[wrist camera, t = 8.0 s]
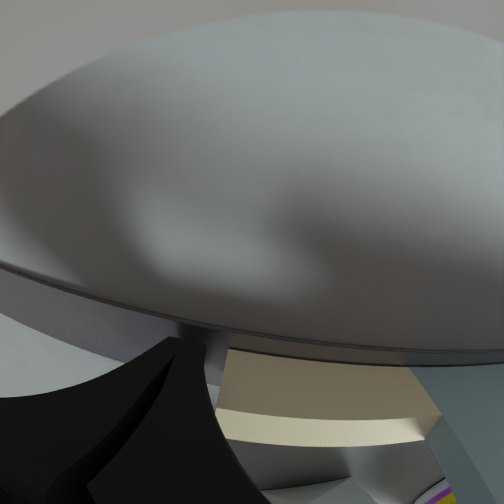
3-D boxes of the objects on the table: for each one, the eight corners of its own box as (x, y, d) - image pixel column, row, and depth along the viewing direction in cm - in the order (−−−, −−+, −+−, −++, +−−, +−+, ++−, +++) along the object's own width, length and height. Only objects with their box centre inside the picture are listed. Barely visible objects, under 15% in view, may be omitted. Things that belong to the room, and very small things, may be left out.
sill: (-51, 279, 10) (-55, 280, 10) (-55, 242, 10) (-59, 243, 9) (560, 371, 10) (562, 373, 10) (573, 344, 10) (575, 345, 10)
